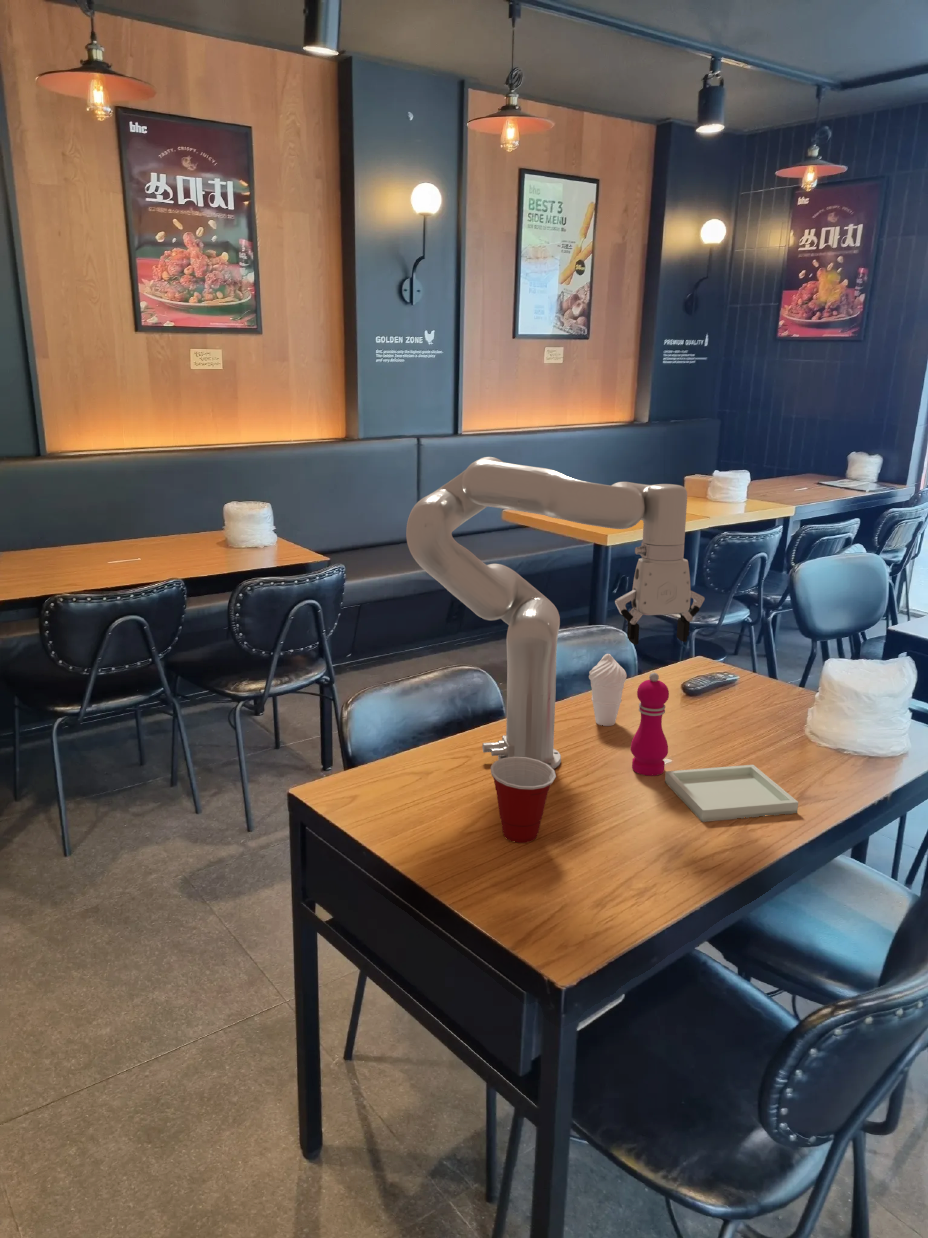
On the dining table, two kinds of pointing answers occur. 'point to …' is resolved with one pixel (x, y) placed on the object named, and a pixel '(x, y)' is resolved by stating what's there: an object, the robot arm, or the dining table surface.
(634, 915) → the dining table surface
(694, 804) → the tray
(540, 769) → the plastic cup
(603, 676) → the soft serve ice cream cone
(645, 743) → the pepper mill
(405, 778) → the dining table surface
